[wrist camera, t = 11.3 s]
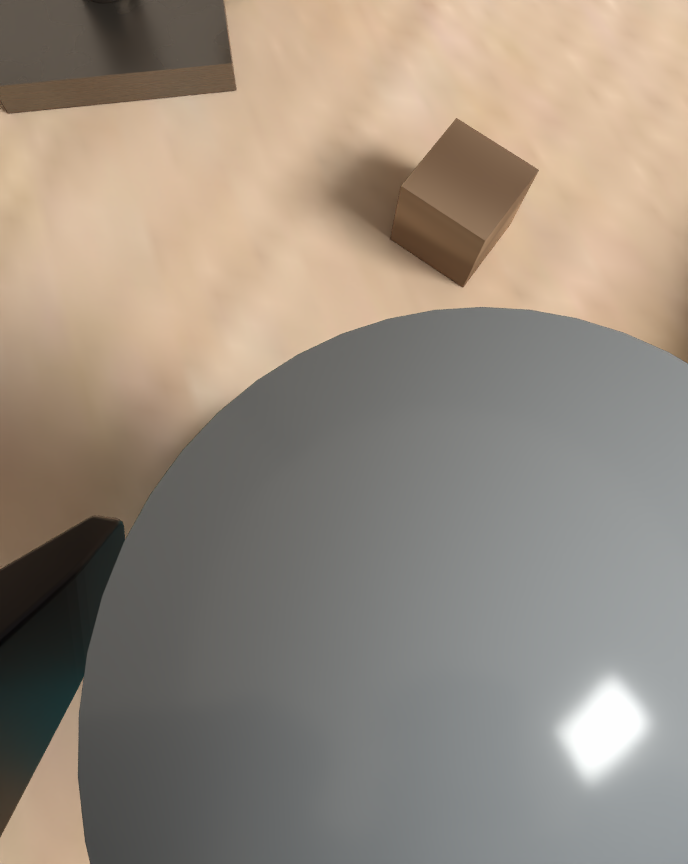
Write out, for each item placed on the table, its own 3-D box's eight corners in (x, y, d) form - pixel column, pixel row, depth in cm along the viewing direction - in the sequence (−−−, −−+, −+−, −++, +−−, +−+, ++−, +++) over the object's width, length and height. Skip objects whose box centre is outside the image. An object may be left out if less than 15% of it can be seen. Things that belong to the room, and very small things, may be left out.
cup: (397, 791, 16) (680, 1529, 4) (210, 642, 17) (-116, 810, 4) (524, 592, 17) (1058, 605, 5) (346, 461, 18) (408, 177, 6)
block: (462, 288, 21) (485, 240, 18) (390, 240, 21) (400, 185, 19) (509, 225, 22) (538, 170, 19) (438, 180, 22) (456, 118, 19)
